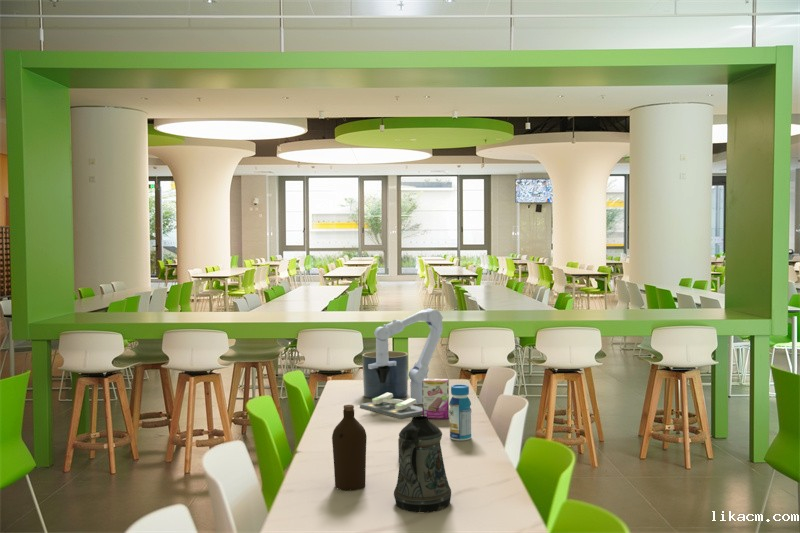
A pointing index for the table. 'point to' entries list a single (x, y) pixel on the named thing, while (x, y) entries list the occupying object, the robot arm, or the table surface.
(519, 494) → the table surface
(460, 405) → the beverage bottle
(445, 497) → the beer stein
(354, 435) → the olive oil
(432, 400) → the candy bar box
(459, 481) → the table surface
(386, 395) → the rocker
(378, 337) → the robot arm
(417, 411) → the switch unit
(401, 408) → the rocker
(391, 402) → the block
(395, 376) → the planter
